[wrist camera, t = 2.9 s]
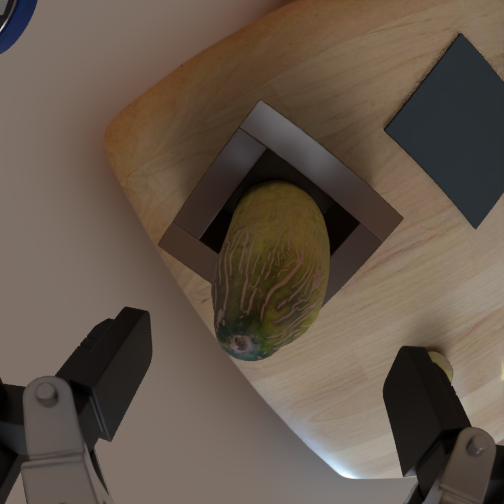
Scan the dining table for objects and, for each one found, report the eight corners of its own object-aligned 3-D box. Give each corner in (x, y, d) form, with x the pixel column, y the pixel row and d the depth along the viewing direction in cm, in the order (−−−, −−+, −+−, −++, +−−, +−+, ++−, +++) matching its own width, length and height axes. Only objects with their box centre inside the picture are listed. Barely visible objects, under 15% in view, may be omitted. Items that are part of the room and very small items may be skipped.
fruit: (423, 397, 36) (384, 377, 33) (450, 362, 36) (416, 335, 33) (447, 421, 30) (411, 404, 28) (477, 382, 30) (447, 358, 27)
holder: (187, 214, 30) (157, 245, 22) (266, 107, 25) (260, 98, 18) (290, 288, 31) (291, 337, 24) (373, 193, 27) (404, 218, 20)
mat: (383, 130, 25) (384, 130, 25) (459, 33, 20) (461, 32, 20) (474, 228, 27) (475, 229, 27) (537, 135, 22) (539, 136, 22)
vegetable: (281, 153, 27) (281, 213, 8) (328, 207, 28) (402, 354, 10) (230, 199, 29) (141, 334, 10) (278, 249, 30) (267, 431, 11)
